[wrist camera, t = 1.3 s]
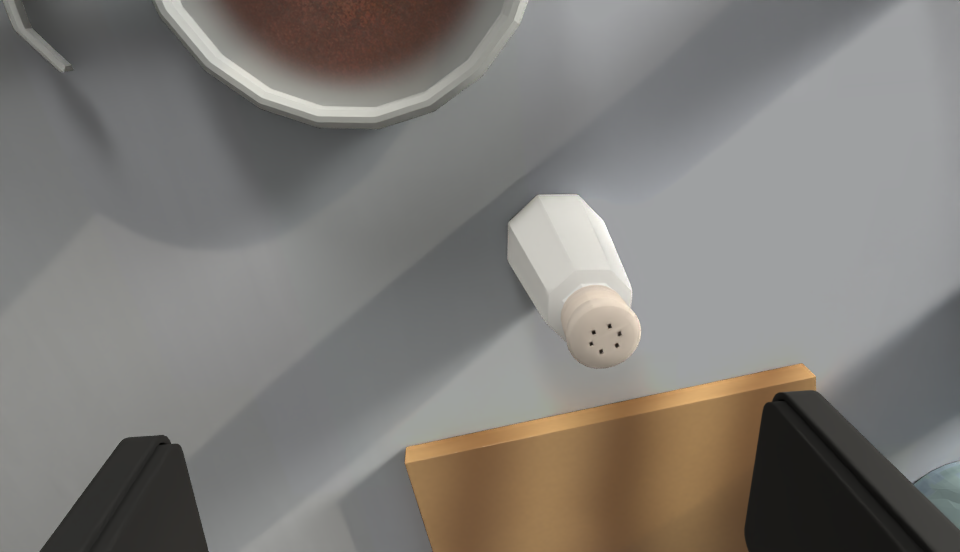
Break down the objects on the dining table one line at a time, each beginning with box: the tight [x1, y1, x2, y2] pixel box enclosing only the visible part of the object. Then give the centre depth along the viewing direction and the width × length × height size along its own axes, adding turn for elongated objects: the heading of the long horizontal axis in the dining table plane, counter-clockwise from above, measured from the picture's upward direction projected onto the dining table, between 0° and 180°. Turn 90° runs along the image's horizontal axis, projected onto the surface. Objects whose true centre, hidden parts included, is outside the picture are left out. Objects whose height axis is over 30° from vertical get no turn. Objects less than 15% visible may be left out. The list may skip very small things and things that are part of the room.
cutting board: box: [405, 364, 816, 552], centre depth 40 cm, size 24×16×2 cm, turn 102°
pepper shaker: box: [507, 194, 641, 368], centre depth 29 cm, size 5×5×11 cm
